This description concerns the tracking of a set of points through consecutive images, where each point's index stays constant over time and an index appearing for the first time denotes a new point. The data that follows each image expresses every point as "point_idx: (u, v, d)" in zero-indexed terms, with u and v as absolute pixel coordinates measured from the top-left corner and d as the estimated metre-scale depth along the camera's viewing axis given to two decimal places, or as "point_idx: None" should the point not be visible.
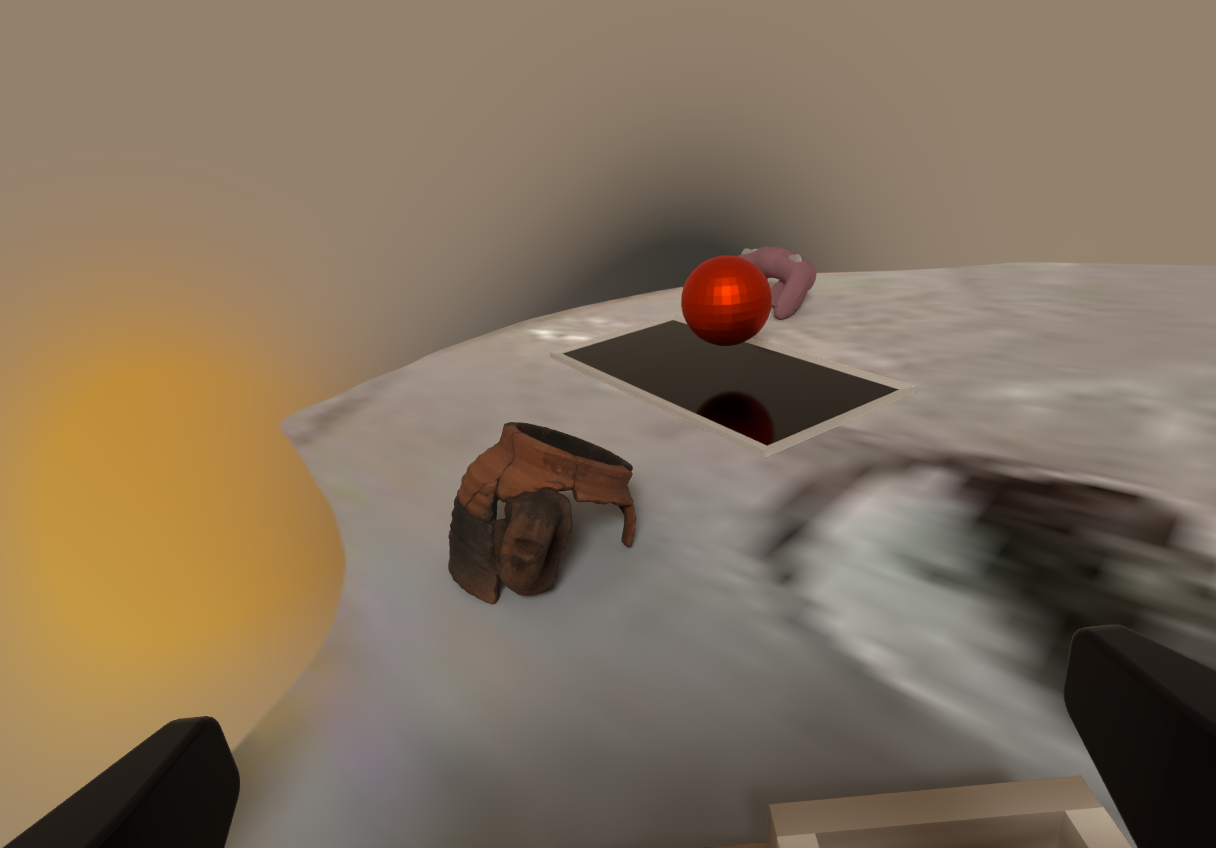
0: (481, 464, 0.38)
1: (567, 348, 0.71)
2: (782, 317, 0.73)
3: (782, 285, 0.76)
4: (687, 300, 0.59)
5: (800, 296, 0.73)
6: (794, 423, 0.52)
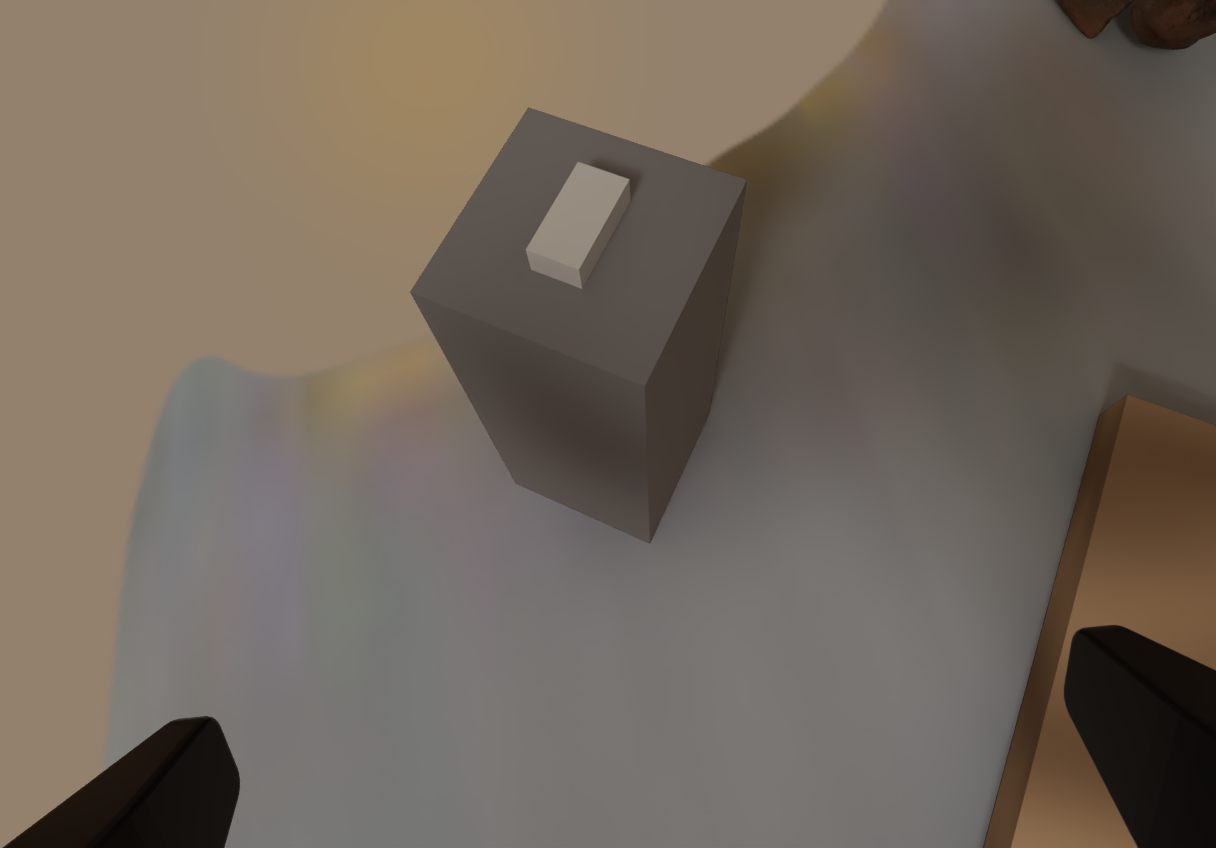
0: None
1: None
2: None
3: None
4: None
5: None
6: None
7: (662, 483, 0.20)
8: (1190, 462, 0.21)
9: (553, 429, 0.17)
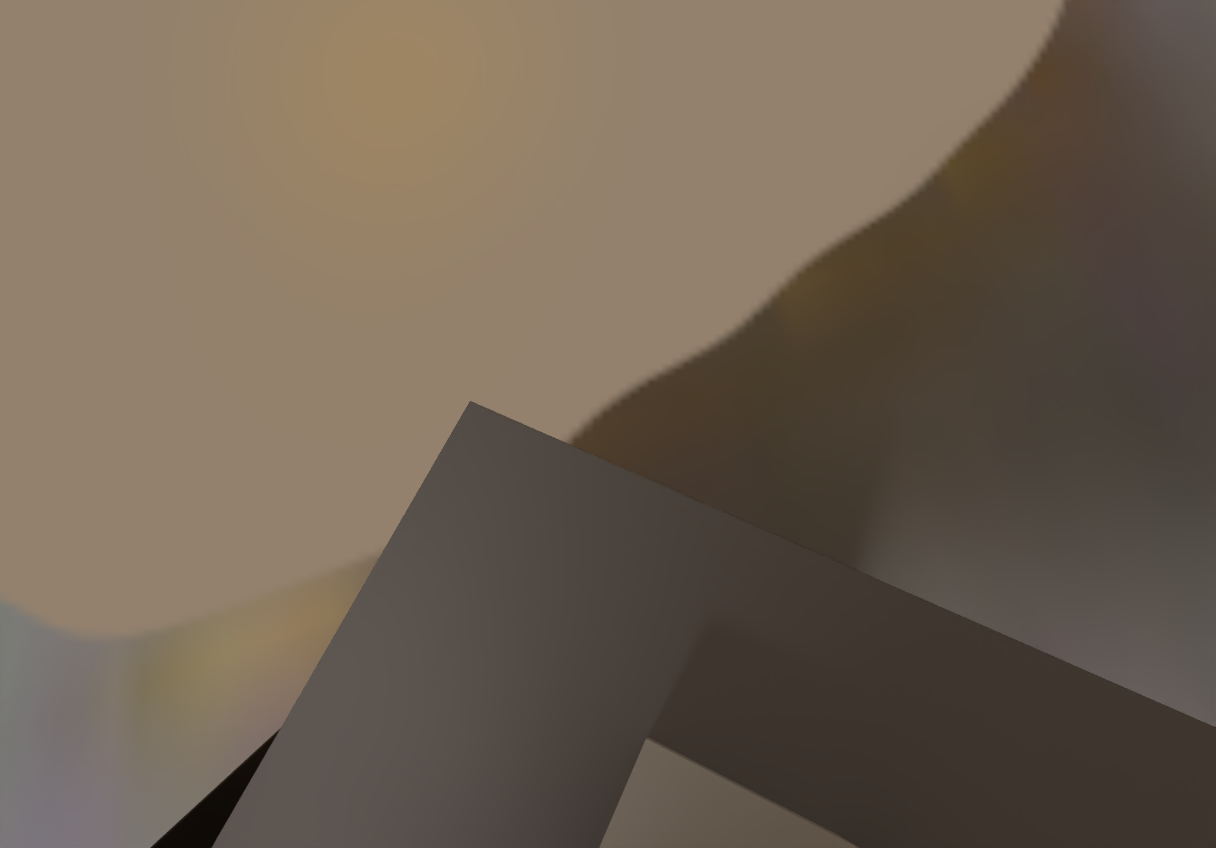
0: None
1: None
2: None
3: None
4: None
5: None
6: None
7: None
8: None
9: None
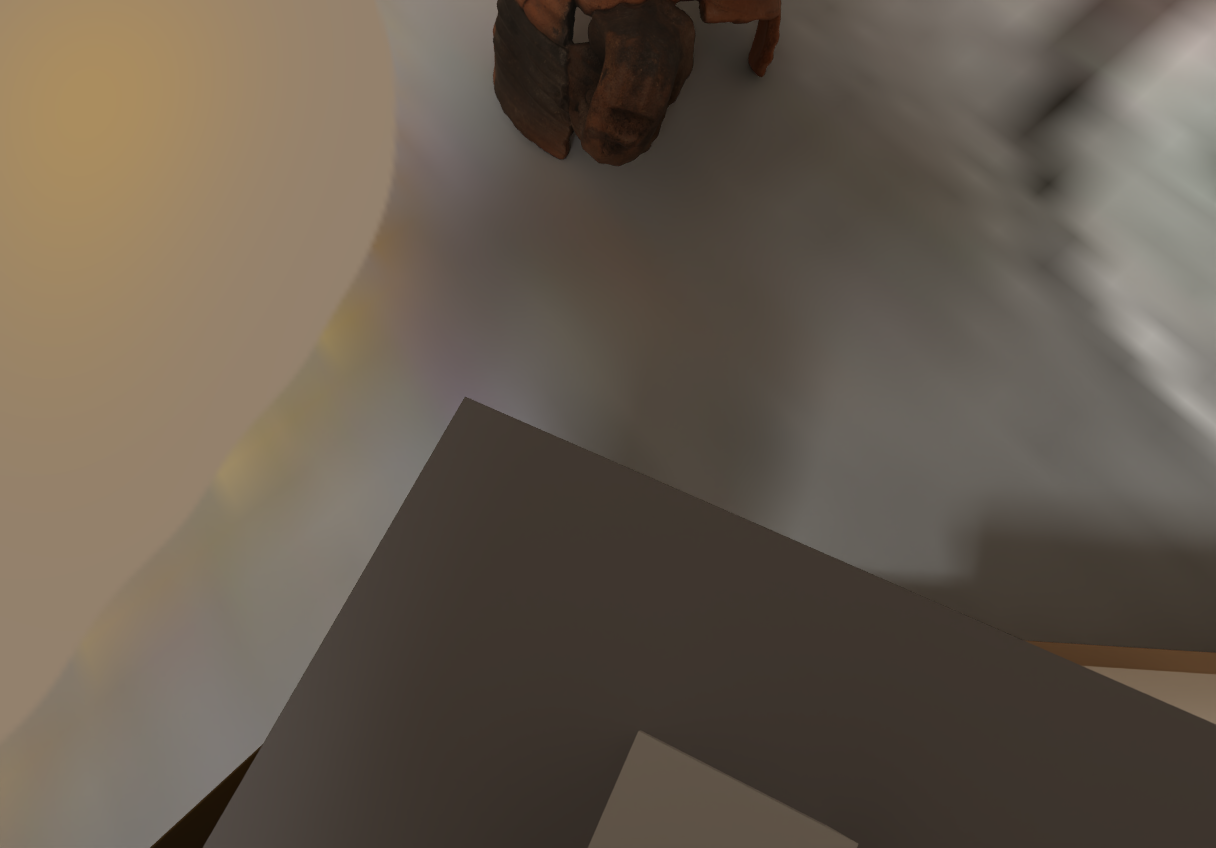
0: None
1: None
2: None
3: None
4: None
5: None
6: None
7: None
8: None
9: None
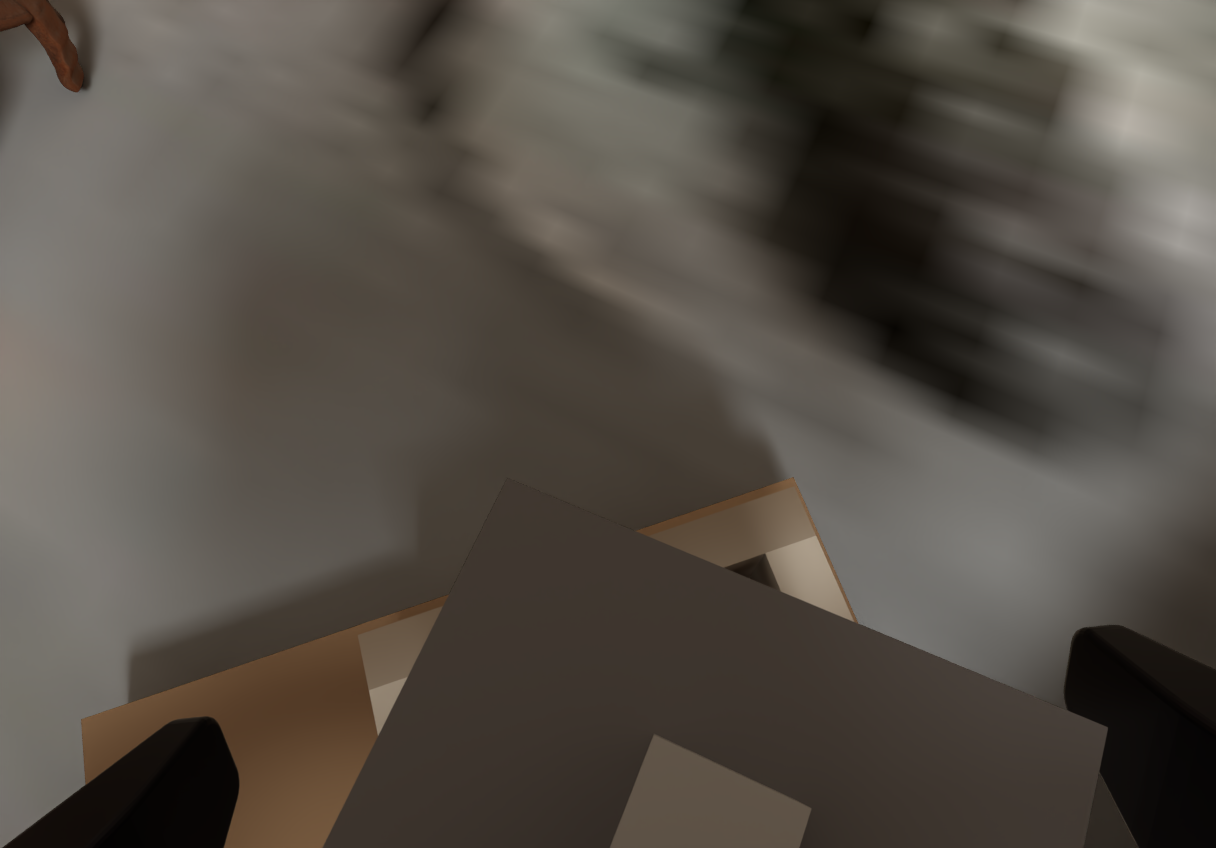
0: None
1: None
2: None
3: None
4: None
5: None
6: None
7: None
8: None
9: None
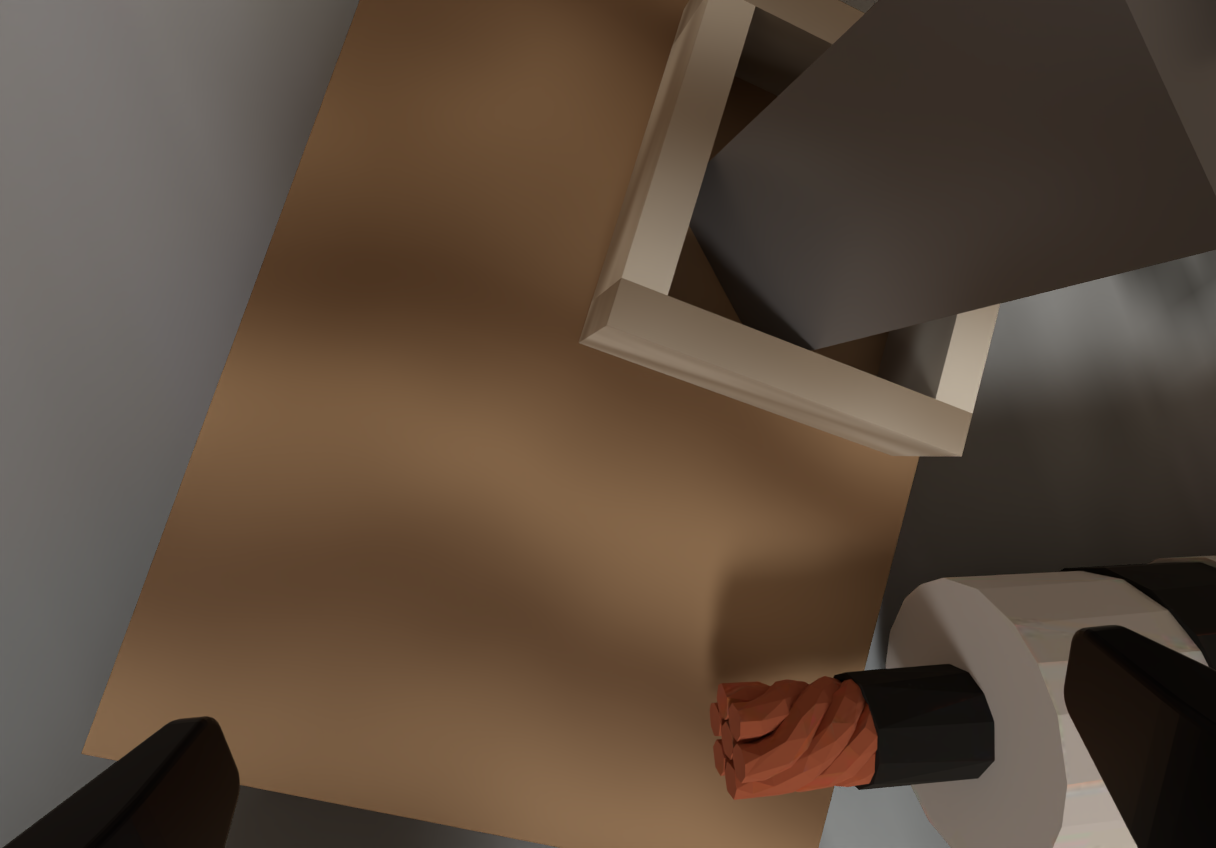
0: None
1: None
2: None
3: None
4: None
5: None
6: None
7: None
8: None
9: (892, 185, 0.12)
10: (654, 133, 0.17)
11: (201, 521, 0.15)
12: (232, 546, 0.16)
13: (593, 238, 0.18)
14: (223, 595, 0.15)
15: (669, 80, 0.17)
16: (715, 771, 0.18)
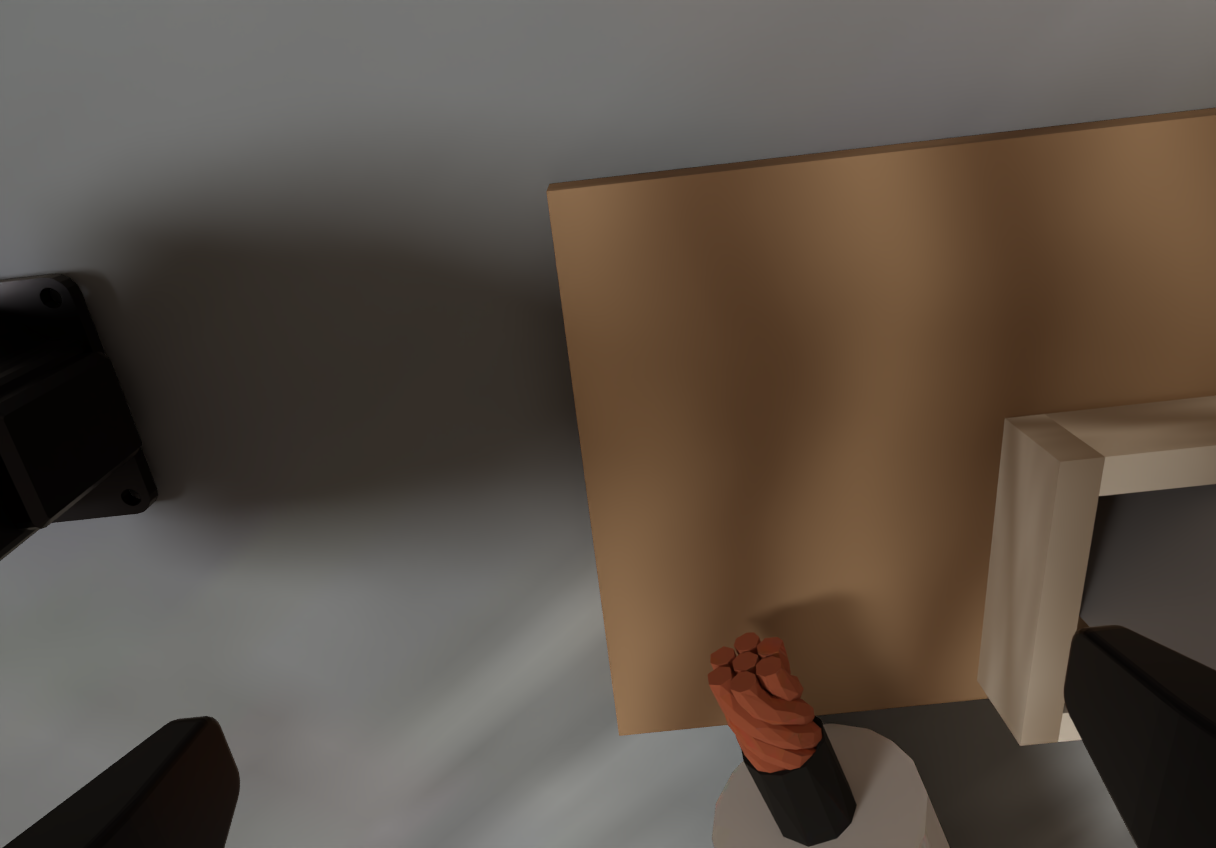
0: None
1: None
2: None
3: None
4: None
5: None
6: None
7: None
8: None
9: None
10: None
11: (761, 194, 0.17)
12: (748, 228, 0.18)
13: (1102, 393, 0.19)
14: (706, 239, 0.18)
15: None
16: (688, 645, 0.22)
